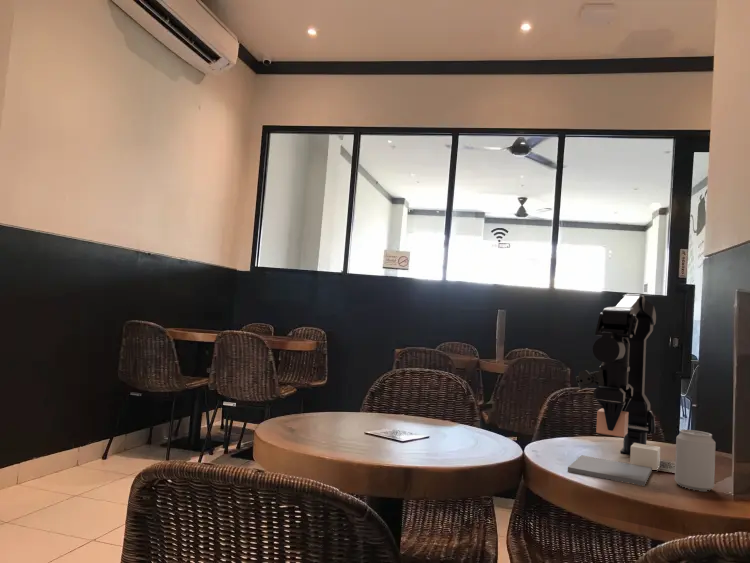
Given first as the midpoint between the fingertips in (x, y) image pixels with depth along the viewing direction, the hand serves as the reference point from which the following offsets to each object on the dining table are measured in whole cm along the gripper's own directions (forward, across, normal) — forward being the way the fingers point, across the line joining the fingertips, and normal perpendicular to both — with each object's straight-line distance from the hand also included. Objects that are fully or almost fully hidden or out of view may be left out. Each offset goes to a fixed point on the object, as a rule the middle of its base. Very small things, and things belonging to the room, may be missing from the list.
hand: (612, 428), depth 135 cm
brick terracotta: (+1, 0, 0) cm, 1 cm away
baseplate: (+10, 0, 0) cm, 10 cm away
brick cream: (+10, -13, +6) cm, 17 cm away
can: (+10, 0, +17) cm, 20 cm away
